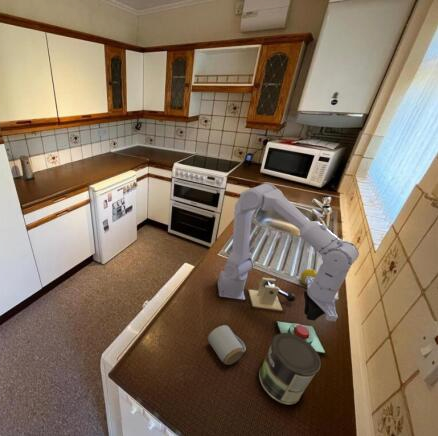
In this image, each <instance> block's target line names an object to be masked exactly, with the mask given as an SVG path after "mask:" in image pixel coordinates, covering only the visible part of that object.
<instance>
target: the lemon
mask: <svg viewBox="0 0 438 436" xmlns="http://www.w3.org/2000/svg"><path fill="white" fill-rule="evenodd" d="M317 272H318V271H316V270H315V269H312V268H307V269H305V270H304V271H303V272H302V273H301V275H300V281H301V282H302V284H303V285H305V286H307V283H305V279H306V276H308V277H314V278H315V276H316V274H317Z"/></svg>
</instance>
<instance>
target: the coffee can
mask: <svg viewBox="0 0 438 436" xmlns="http://www.w3.org/2000/svg"><path fill="white" fill-rule="evenodd" d="M321 365H322V363H321V358H320V355H319V353H317V352H316V350H315V349H314V348H313V347H312V346H311V345H310V344H309V343H308V342H307V341H305V340H304V339H303V338H301V337H299V336H297V335H294V334H291V333H280V332H279V333H278V334H275V336H274V337H273V339H272V340H271V345H270V347H269V349H268V351H267V354H266V356H265V359H264V361H263V363H262V366H261V367H260V369H259V371H258V372H259V373H258V376H259V381H260V384H261V386H262V388H263V390H264V391H265V392H266V394H268V396H269V397H271V398H272V399H273V400H275V401H276V402H278V403H280V404H284V405H295V404H296V403H297V402H299V401H300V399H301V397H302V395H303V394H304V392H305V391H306V389H307V388H308V386H309V384H310V383H311V381H312V380H313V379H314V378H315V375H316V374H317V373H318V372H319V371H320V368H321Z"/></svg>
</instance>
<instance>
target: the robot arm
mask: <svg viewBox="0 0 438 436" xmlns="http://www.w3.org/2000/svg"><path fill="white" fill-rule="evenodd" d="M259 208H261V211H265V212H266V211H268V212H269V211H270V212H276V213H277V214H279V215H280V216H281V217H283V218H284V219H285V220H286V221H288V222H289V223H290V224H291V225H293V226H294V227H295V228H297V229H298V230H299V236H300V238H302V239H303V240H304V242H306V243H307V244H309V246H311V247H312V248H313V249H314V250H315V251H316V252H317V253H318V254H319V255H321V260H322V261H321V262H322V263H321V264H320V265H319V267H318V270H317V271H316V272H317V274H316V276H315V278H314V277H308V276H306V279H305V283H307V285H306V286H307V287H306V288H307V289H306V290H305V291H303V297H304V310H303V311H304V315H306V320H308V321H316V320H317V319H318V318H319V317H321V316H323V315H325V317H324V318H325V320H326V321H329V322H336V321H337V319H338V318H339V316H338V314H337V310H336V304H335V303H336V302H337V301H338V297H337V294H338V292H339V291H340V289H341V287H342V285H343V283H344V281H345V280H346V278H347V276H348V273H349V271H350V269H351V268H352V266H353V264H354V263H355V262H356V261H357V259H358V258H359V255H360V252H359V249H358V248H357V247H356V246H355V244H354V243H353V242H350V241H347V240H343V239H342V238H339V237H338V236H337V235H335V234H334V233H333V232H332V231H330V230H329V228H328V226H327V225H326V224H325V223H320V222H319V221H313V220H310V219H309V218H308V217H307V216H305V214H303V212H301V211H300V210H299V209H298V208H297V207H296V206H295V205H294V204H293V203H292V202H291V201H290V200H289V199H288V198H286V196H284V193H283V192H282V190H280V189H279V188H277V187H276V186H275V185H274V184H273V183H270V182H263V183H261V184H259V185H257V186H255V187H252V188H248V189H245V190H243V192H241V193H240V194H239V198H238V199H237V201H236V203H235V204H234V213H233V215H234V216H233V232H232V247H231V249H232V250H231V252H230V254H229V255H228V257H227V258H226V263H225V264H224V267H223V270H220V272H219V276H218V280H217V289H218V296H219V297H221V298H229V299H235V300H236V299H238V300H243V301H245V300H246V296H245V292H244V289H245V286H246V282H247V279H248V274H249V271H251V270H252V269H253V268H254V265H255V264H254V260H253V258H252V257H253V254H252V253H251V252H250V239H251V231H252V229H251V228H252V218H253V211H255V210H258V209H259Z"/></svg>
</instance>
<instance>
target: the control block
mask: <svg viewBox="0 0 438 436" xmlns="http://www.w3.org/2000/svg"><path fill="white" fill-rule="evenodd" d="M275 324H276V327H277V330H278V332H279V334H280V333H291V334H294V335H296V334H295V328H296V326H297V325H303V326H305V327H306V328H307V329H308V330H309V335H308V337H307V338H305V339H304V340H305V341H307V342H308V343H309V344H310V345H311V346H312V347H313V348H314V349H315V350H316V352H317V353H318V355H319V354H320V355H325V354H326V351H325V349H324V347H323V345H322V343H321V341H320V339H319V337H318V335H317V332H316V331H315V329H314V327H313V326H312V325H304V324H301V323H291V322H283V321H278V320H277V321H276V323H275Z"/></svg>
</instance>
